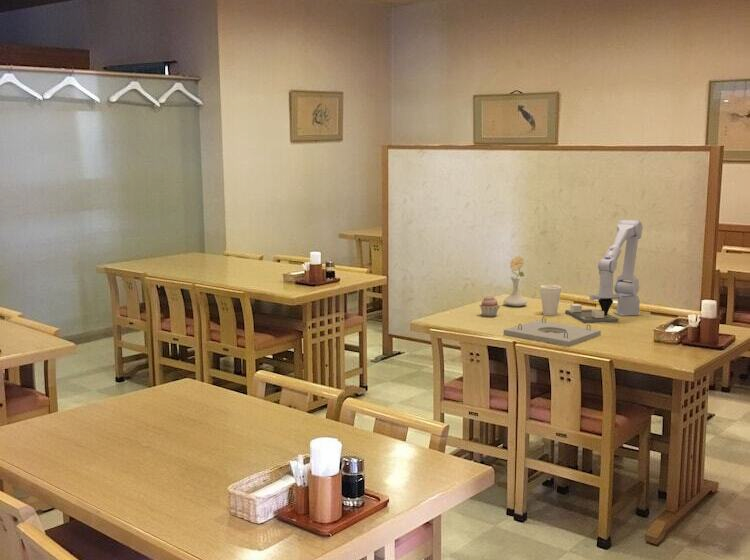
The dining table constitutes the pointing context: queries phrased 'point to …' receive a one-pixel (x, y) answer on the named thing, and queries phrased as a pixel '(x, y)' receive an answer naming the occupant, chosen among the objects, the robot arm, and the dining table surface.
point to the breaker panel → (590, 316)
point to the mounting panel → (559, 336)
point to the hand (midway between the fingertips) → (604, 315)
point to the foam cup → (550, 299)
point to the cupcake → (489, 306)
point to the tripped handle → (598, 313)
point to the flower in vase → (516, 284)
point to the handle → (575, 307)
